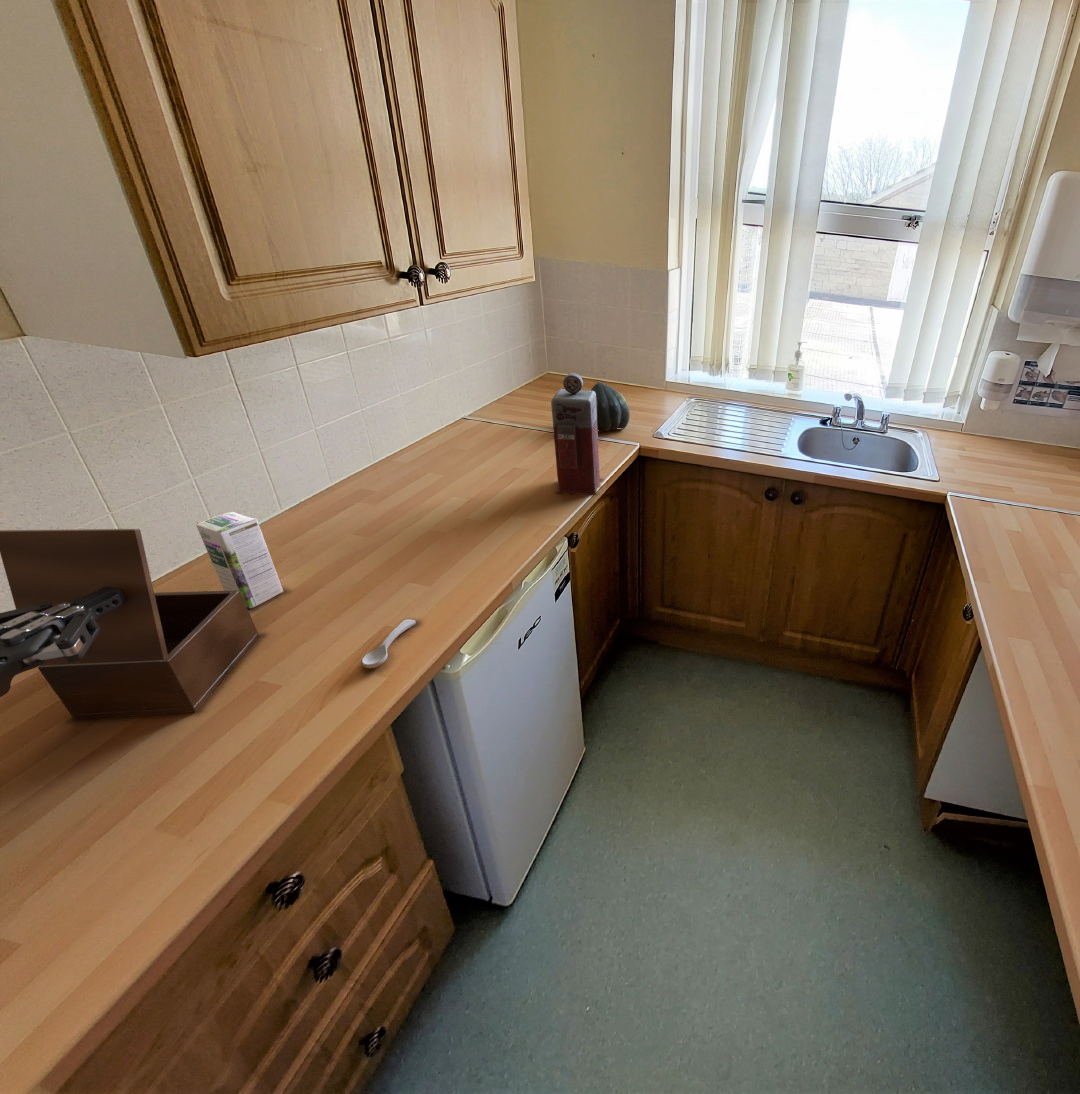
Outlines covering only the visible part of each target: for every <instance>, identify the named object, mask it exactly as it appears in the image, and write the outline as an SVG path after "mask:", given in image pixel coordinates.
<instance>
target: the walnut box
mask: <svg viewBox="0 0 1080 1094" xmlns="http://www.w3.org/2000/svg"><path fill="white" fill-rule="evenodd" d="M154 595H155V599H156V604H157V608H158V613H159V617H160V622H161V626H162V631H163V635H164V640H165V644H166V649H167V653H168V658H166V659H165V660H152V661H130V662H108V663H85V664H63V665H41V666H38V667H37V669H38V671H39V672H40V673H41V675H42V676H43V678H44V679H45V680H46V682H47V683H48V685H49V686H50V687H51V689H52V690H53V691H54V693H55V694H56V696H57V698H58V699H59V700H60V702H61V704H62V705H63V706H64V707H65V709H66V710H67V711H68V713H69V714H70V715H71V717H72V718H73V720H85V719H86V720H87V719H98V718H99V719H102V718H119V717H135V716H136V717H137V716H151V715H153V716H155V715H168V714H169V715H170V714H171V715H172V714H188V713H196V712H197V711H198V710H199V709H200V708H201V707H202V705H203V704H204V703H205V702H206V701H207V699H208V698H210V696H211V695H212V693H213V692H214V691H215V690H216V689H217V687H218V686H219V685H220V684H221V683H222V682H223V681H224V679H225V678H226V677H227V676H228V675H229V674H230V672H231V671H232V670H233V669H234V668H235V666H236V665H237V664H238V663H239V662H240V660H241V659H242V658H243V657H244V656H245V654H247V653H248V651H249V650H250V648H252V646H253V645H254V644H255V643H256V641H257V640H258V639H259V638H260V635H259V631H258V630H257V628H256V624H255V623H254V621H253V618H252V616H251V614H250V612H249V608H248V607H246V604H245V602H244V600H243V598H242V595H241V593H240V591H239V590H233V591H224V590H203V591H201V590H200V591H196V590H195V591H166V592H165V591H164V592H163V591H162V592H154Z"/></svg>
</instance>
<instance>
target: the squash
mask: <svg viewBox="0 0 1080 1094" xmlns="http://www.w3.org/2000/svg"><path fill="white" fill-rule="evenodd" d="M589 390H590V391H594V392H595V393H596V407H597V430H599V431H598V433H599V432H600V433H602V432H604V431H610V430H611V429H612V430H614V431H622V430H624V429H625V428H626V427H627V426H628V424H629V422H630V417H631V416H630V407H629V404H628V401H627V400H626V398H625V397H624V395H623V393H621V392H619V391H618V390H616V389H615V388H614V387H612V386H610V385H608V384H606V383H604V382H600V381H598V382H596V383H595V384H594V385H593V386H592V388H590V389H589ZM617 428H623V429H617Z"/></svg>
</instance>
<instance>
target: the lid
mask: <svg viewBox="0 0 1080 1094" xmlns="http://www.w3.org/2000/svg"><path fill="white" fill-rule="evenodd" d="M143 541H144V540H143V536H142V532H141V529H140V528H93V529H92V528H91V529H90V528H89V529H88V528H87V529H84V528H83V529H82V528H80V529H79V528H78V529H77V528H76V529H2V530H1V529H0V558H1V561H2V564H3V569H4V573H5V576H6V578H7V583H8V586H9V590H10V593H11V597H12V600H13V604H14V607H15V609H20V608H24V607H28V606H33V605H37V604H41V603H47V602H49V603H51V605H52V606H56V605H58V604H60V603H64V602H70V603H72V602H74V601H76V600H78V599H81V598H83V597H85V596H87V595H89V594H91V593H93V592H95V591H97V590H99V589H101V588H104V587H106V586H108V587H113V588H118V589H121V590H122V592H123V594H124V596H125V598H126V603H125V604H123V605H121V606H120V607H118V608H116V609H114V610H112V611H110V612H108V613H106V614H104V615H102V616H100V617H98V618H97V619H95V621H96V622H97V624H98V626H99V627H100V629H101V630H100V631H99V633H98V635H97V636H96V638H95V639H94V641H93V642H92V644H91V645H90V647H89V649H88V650H87V652H86V653H85V655H84V656H83V658H81V659H80V660H77V661H74V662H68V661H67V660H66V659H65V657H58V658H53V659H47V660H46V661H45V662H44V663H43V664H42V665H63V664H85V663H108V662H130V661H152V660H165V659H166V658H168V653H167V649H166V644H165V640H164V635H163V631H162V626H161V622H160V617H159V613H158V608H157V604H156V599H155V595H154V593H155V591H154V586H153V585H154V584H153V582H152V577H151V573H150V567H149V564H148V558H147V555H146V554H147V553H146V550H145V546H144V542H143ZM40 666H41V665H40Z"/></svg>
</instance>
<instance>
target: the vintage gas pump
mask: <svg viewBox="0 0 1080 1094" xmlns="http://www.w3.org/2000/svg"><path fill="white" fill-rule="evenodd" d="M562 382H563V383H562V385H563V388H559V389H558V390H557V391H556V392H555V394H554V396H553V397H552V399H551V400H550V405H551V417H552V429H553V430H552V431H553V442H554V452H555V464H556V475H557V476H556V477H557V488H558V493H559V494H582V495H585V494H586V495H596V494H597V490H598V487H599V484H600V481H601V480H600V455H599V435H598V434H599V432H598V430H597V407H596V393H595V392H594V391H590V390H591V389H589V390H587V389H582V388H583V387H584V380H583V378H582V377H581V375H580V374H578V373H577V372H576V373H575V372H570V373H568V374H567V375H566V376H565V377H564V379H563V381H562Z"/></svg>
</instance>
